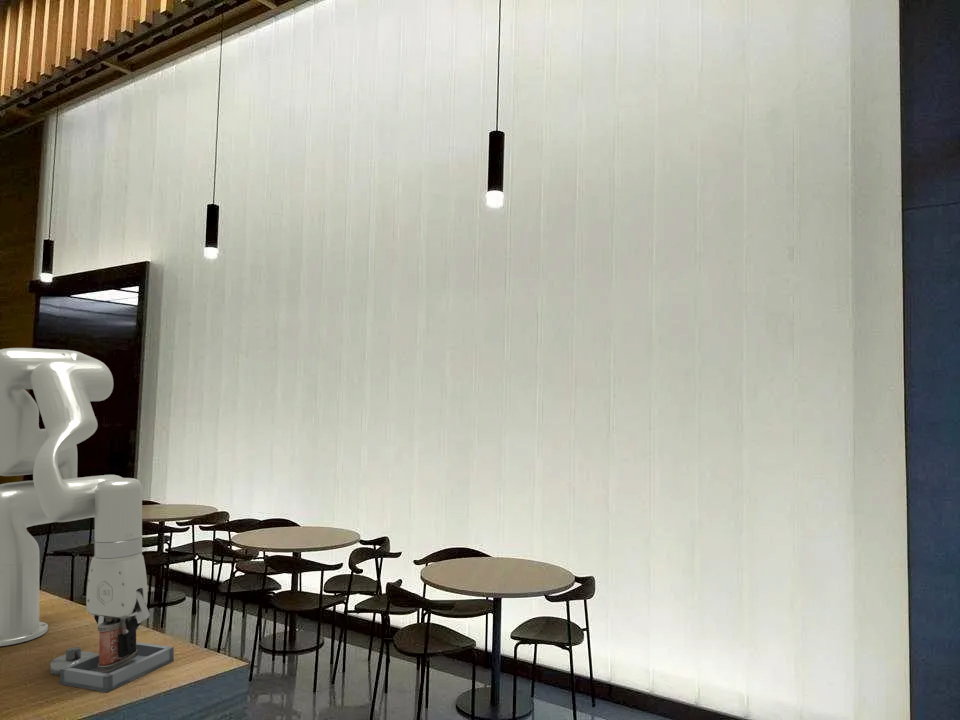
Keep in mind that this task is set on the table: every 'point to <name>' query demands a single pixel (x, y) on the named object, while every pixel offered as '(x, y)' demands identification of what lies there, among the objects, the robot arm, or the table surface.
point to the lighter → (111, 645)
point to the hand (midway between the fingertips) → (118, 652)
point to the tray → (116, 669)
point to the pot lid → (68, 659)
